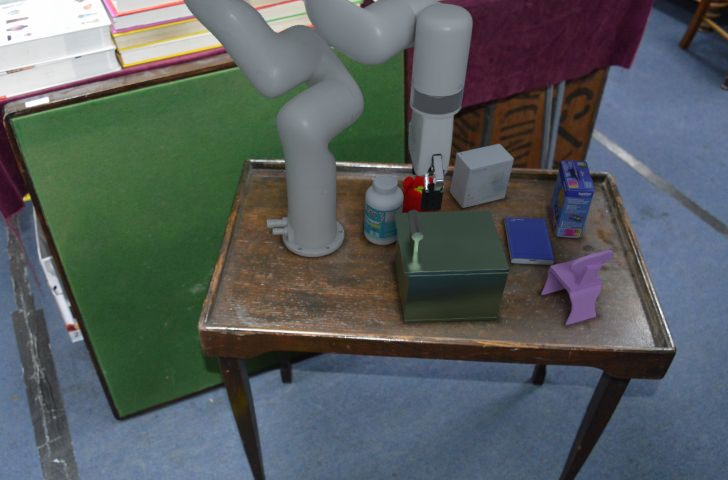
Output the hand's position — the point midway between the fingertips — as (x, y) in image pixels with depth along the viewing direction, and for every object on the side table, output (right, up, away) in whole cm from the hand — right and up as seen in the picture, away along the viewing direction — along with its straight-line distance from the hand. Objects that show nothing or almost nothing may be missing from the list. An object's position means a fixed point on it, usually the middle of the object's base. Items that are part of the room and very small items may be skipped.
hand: (425, 191), depth 108 cm
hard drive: (+24, -7, +25) cm, 36 cm away
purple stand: (+28, -19, +13) cm, 36 cm away
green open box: (+6, -16, +16) cm, 23 cm away
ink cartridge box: (+33, -3, +30) cm, 44 cm away
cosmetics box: (+17, +4, +36) cm, 40 cm away
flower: (+3, -1, +32) cm, 32 cm away
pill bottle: (-5, -5, +27) cm, 28 cm away
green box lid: (+5, -8, +7) cm, 12 cm away
